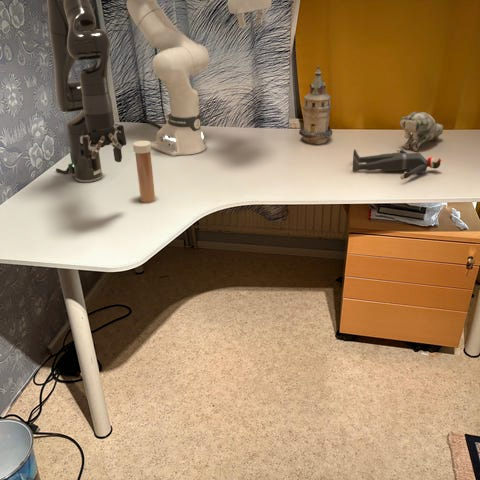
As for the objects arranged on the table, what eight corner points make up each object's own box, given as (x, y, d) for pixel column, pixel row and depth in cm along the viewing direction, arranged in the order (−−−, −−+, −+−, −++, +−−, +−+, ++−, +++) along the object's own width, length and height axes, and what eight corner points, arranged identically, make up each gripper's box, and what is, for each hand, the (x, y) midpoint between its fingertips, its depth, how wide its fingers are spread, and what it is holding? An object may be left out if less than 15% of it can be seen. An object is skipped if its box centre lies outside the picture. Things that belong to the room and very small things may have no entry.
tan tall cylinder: (154, 202, 171) (149, 147, 162) (140, 203, 170) (133, 147, 161) (155, 196, 175) (150, 142, 166) (141, 196, 174) (135, 142, 165)
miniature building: (320, 132, 228) (325, 59, 214) (338, 142, 217) (344, 66, 203) (293, 137, 224) (296, 63, 209) (310, 147, 213) (314, 69, 198)
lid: (150, 153, 162) (150, 146, 161) (132, 154, 162) (132, 146, 161) (152, 147, 167) (151, 140, 166) (134, 147, 167) (134, 140, 165)
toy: (354, 141, 202) (437, 142, 196) (353, 157, 206) (435, 158, 199) (352, 166, 180) (446, 168, 174) (351, 183, 183) (444, 186, 177)
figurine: (429, 162, 206) (454, 135, 215) (417, 119, 197) (443, 93, 206) (407, 162, 213) (432, 135, 222) (394, 121, 204) (421, 95, 213)
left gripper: (109, 101, 150) (117, 156, 158) (67, 113, 141) (77, 170, 149) (127, 105, 146) (134, 161, 154) (85, 118, 137) (94, 177, 144)
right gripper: (260, -24, 177) (260, 21, 184) (223, -20, 162) (224, 29, 169) (276, -23, 174) (275, 22, 180) (240, -19, 159) (241, 30, 166)
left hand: (106, 166), depth 151 cm, fingers open, 8 cm apart
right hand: (250, 25), depth 175 cm, fingers open, 8 cm apart
